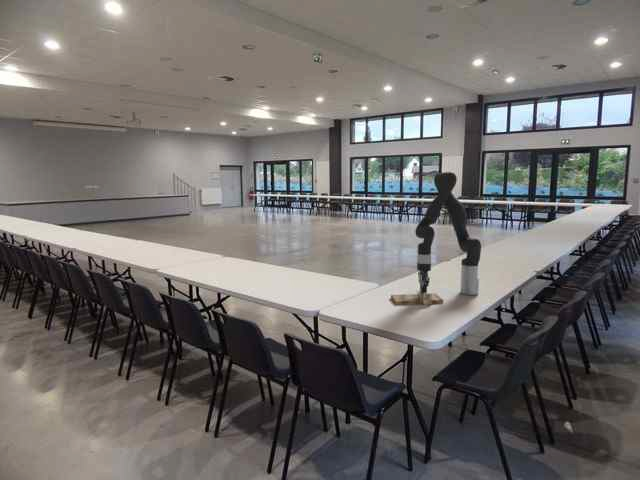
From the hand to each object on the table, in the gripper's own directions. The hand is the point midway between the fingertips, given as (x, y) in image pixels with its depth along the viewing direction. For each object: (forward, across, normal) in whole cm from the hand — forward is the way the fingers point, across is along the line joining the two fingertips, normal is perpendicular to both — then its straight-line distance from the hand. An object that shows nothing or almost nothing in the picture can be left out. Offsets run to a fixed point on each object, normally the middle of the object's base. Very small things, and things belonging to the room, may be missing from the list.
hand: (423, 291), depth 226 cm
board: (+5, 0, +4) cm, 6 cm away
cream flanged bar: (+5, 0, 0) cm, 5 cm away
